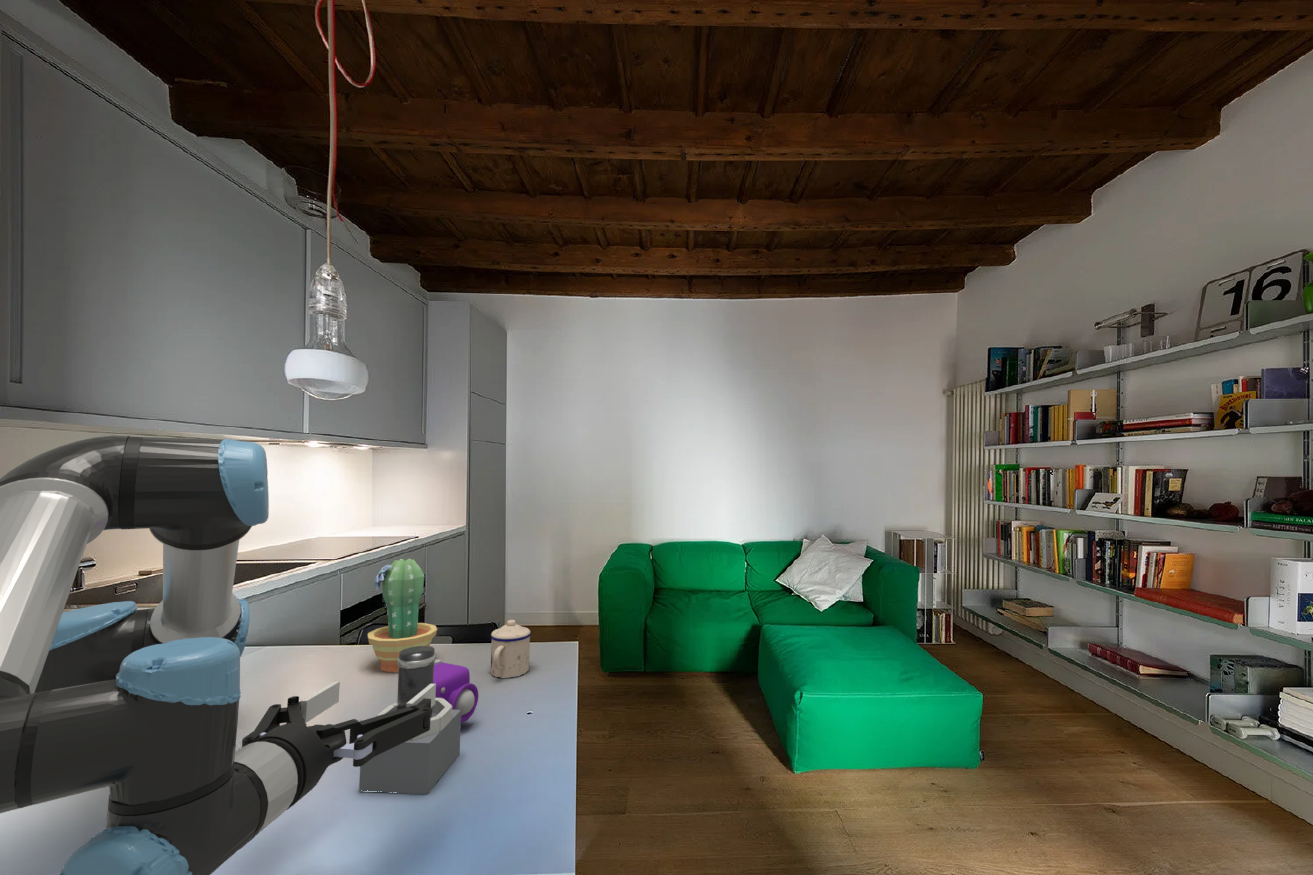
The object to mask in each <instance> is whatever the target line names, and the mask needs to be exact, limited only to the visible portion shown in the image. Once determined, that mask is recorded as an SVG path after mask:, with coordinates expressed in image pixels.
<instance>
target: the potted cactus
mask: <svg viewBox="0 0 1313 875" xmlns="http://www.w3.org/2000/svg"><path fill="white" fill-rule="evenodd" d="M424 582H425V573H424V572H423V570H422V568H421V567H420V566H419V564H418V563H417V562H416V561H415V559H411V558H408V559H407V558H406V559H403V558H400V559H399V560H396V559H394V560H393V562H392V563H391V564H386V565H384V566H382V568H381V569H380V570H379V572H378V573H377V575H376V577H375V579H374V582H373V584H374V587H375V592H378V590H379V589H381V586H382V590H381V591H382V597H383V600H384V603H385V606H386V612H387V624H388V625H387V626H386V625H385V626H383V627H379V628H376V629H374V630H371V631H369V632H368V633H367V639H368V644H369V646H372V649H373V652H374V654H375V657H376V658H377V660H378V661H379V662H380V670H381V671H384V672H385V673H386V672H387V673H398V671H399V667H398V657H399V653H400V651H402V650H404V649H407V648H410V647H416V646H430V647H431V643H432V640H433V638H434V637H436V635H437V631H438V628H437V626H436V625H435V624H431V623H426V622H419V607H420V606H419V605H420V601H421V598H422V595H423V592H424ZM381 583H382V584H381Z"/></svg>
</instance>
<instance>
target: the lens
mask: <svg viewBox="0 0 1313 875" xmlns="http://www.w3.org/2000/svg"><path fill="white" fill-rule="evenodd" d="M435 660H436V652H435V647H433V646H431V645H430V646H416V647H410V648H407V649H404V650H402V651H400V653H399V657H398V667H399V671H398V672H397V673H398V675H397V696H396V698H397V699H396V700H397V702H396V703H397V710H399V709H403V708H406V703H408V702H409V701H410V700H411V699H412V698H414V697H415V696H416V695H417V694H419V693H420V692H421V691H422V690H423V689H425V688H426V687H427V686H428V685H430V684H433V680H434V662H435ZM432 709H433V707H431V718H432Z"/></svg>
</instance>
